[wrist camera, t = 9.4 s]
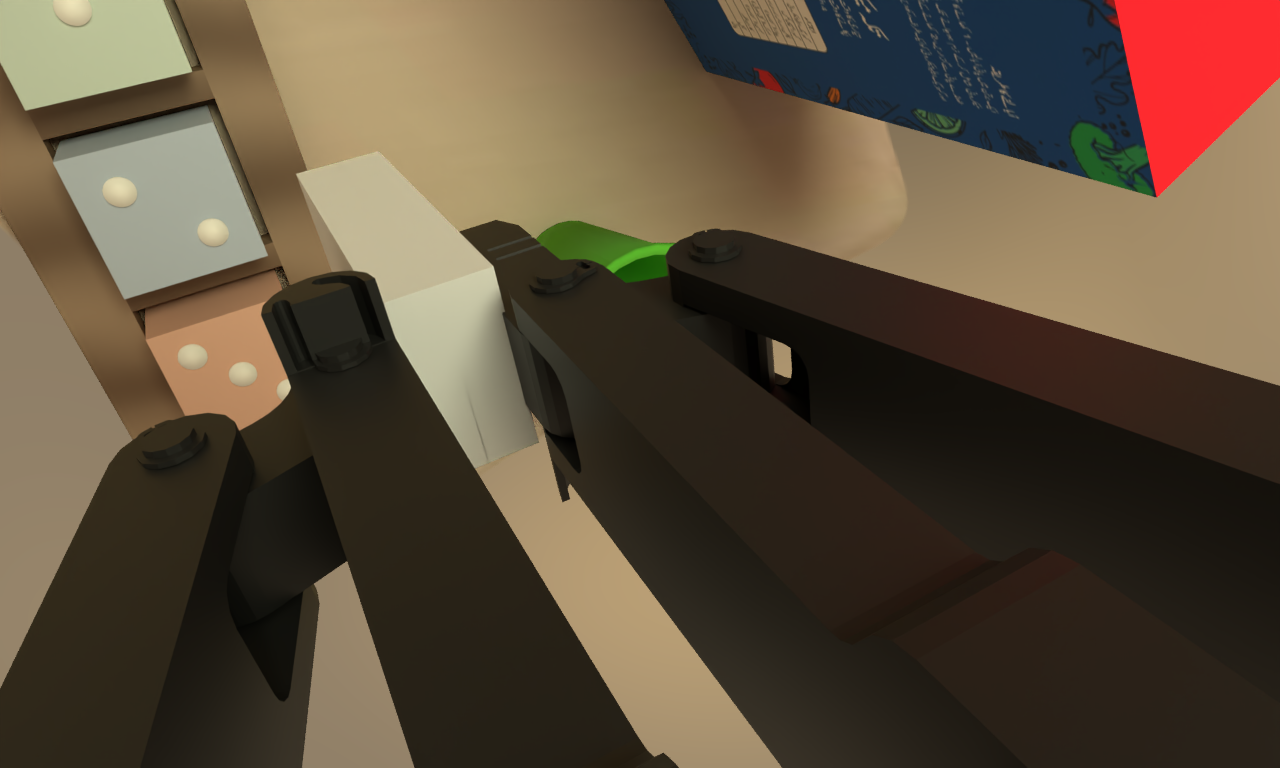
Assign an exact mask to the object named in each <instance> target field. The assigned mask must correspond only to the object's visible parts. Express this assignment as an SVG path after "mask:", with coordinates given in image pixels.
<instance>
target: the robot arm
mask: <svg viewBox="0 0 1280 768" xmlns="http://www.w3.org/2000/svg"><path fill="white" fill-rule="evenodd" d="M296 175H297V178H298V181H299V184H300V186H301V189H302V192H303V194H304V197H305V200H306V203H307V205H308V208H309V211H310V213H311V216H312V219H313V222H314V224H315V227H316V230H317V232H318V235H319V238H320V240H321V243H322V246H323V249H324V251H325V254H326V257H327V259H328V262H329V265H330V268H331V270H332V272H330V273H326V274H322V275H318V276H313V277H310V278H307V279H305V280H302V281H299V282H297V283H294V284H292V285H289V286H288V287H286V288H284V289H283V290H281V291H279V292H278V293H276V294H274V295H273V296H272V297H271V298H270V299H269V300H268V301H267V302H266V303H265V304H264V305H263V307H262V312H261V317H262V319H263V321H264V324H265V326H266V328H267V331H268V333H269V335H270V338H271V340H272V342H273V344H274V347H275V349H276V351H277V354H278V356H279V358H280V361H281V363H282V365H283V368H284V370H285V372H286V375H287V377H288V380H289V383H290V386H291V389H290V391H289V393H288V395H287V396H286V397H285V399H284V400H283V401H282V402H281V403H280V404H279V405H278V406H277V407H276V408H275V409H273V410H272V411H271V412H270V413H269V414H267V415H265V416H264V417H262V418H261V419H259V420H257V421H256V422H254V423H252V424H251V425H249V426H247V427H245V428H243V429H241V430H240V431H239V429H238V427H237V425H236V423H235V421H233V420H232V419H230V418H229V417H228V416H226V415H223V414H214V413H202V414H195V415H189V416H184V417H181V418H178V419H175V420H166V421H164V422H161V423H159V424H157V425H154V426H155V428H152V427H150V428H149V429H147V430H145V431H143V432H142V433H140V434H139V435H138V437H136V438H135V439H134V440H132V441H131V442H130V443H129V444H127V445H126V446H125V447H123V448H122V449H121V450H120V451H119V452H118V453H117V455H116V456H115V457H114V459H113V460H112V461H111V463H110V464H109V465H108V468H107V470H106V472H105V474H104V476H103V478H102V480H101V482H100V484H99V486H98V488H97V490H96V492H95V494H94V496H93V498H92V501H91V503H90V505H89V507H88V509H87V511H86V513H85V515H84V517H83V519H82V521H81V523H80V525H79V528H78V529H77V532H76V534H75V536H74V538H73V540H72V542H71V544H70V546H69V548H68V550H67V552H66V554H65V556H64V558H63V560H62V562H61V564H60V567H59V569H58V571H57V573H56V575H55V577H54V579H53V581H52V583H51V585H50V587H49V589H48V591H47V593H46V595H45V597H44V600H43V602H42V604H41V606H40V608H39V610H38V612H37V614H36V616H35V618H34V620H33V623H32V624H31V626H30V629H29V630H28V633H27V635H26V637H25V639H24V641H23V643H22V645H21V647H20V649H19V651H18V653H17V655H16V657H15V659H14V661H13V663H12V666H11V668H10V670H9V672H8V674H7V676H6V678H5V680H4V682H3V684H2V686H1V688H0V768H302V761H303V752H304V743H305V742H304V741H305V733H306V724H307V714H308V705H309V696H310V687H311V677H312V668H313V658H314V649H315V640H316V631H317V621H318V611H319V599H318V594H317V590H316V588H315V586H314V583H315V582H317V581H318V580H320V579H321V578H323V577H324V576H326V575H327V574H328V573H330V572H332V571H333V570H334V569H336V568H337V567H339V566H340V565H342V564H343V563H345V562H346V561H347V562H348V565H349V568H350V571H351V574H352V577H353V580H354V583H355V586H356V589H357V592H358V595H359V598H360V601H361V604H362V608H363V611H364V614H365V617H366V620H367V623H368V626H369V629H370V632H371V635H372V638H373V641H374V644H375V648H376V651H377V654H378V657H379V659H380V663H381V666H382V669H383V672H384V675H385V678H386V681H387V684H388V687H389V691H390V694H391V697H392V700H393V703H394V706H395V709H396V712H397V715H398V718H399V721H400V724H401V727H402V730H403V734H404V736H405V740H406V743H407V746H408V749H409V752H410V755H411V758H412V761H413V764H414V767H415V768H678V766H677V765H676V764H675V763H674V762H673V761H672V760H671V759H670V758H669V757H668V756H667V755H665V754H664V753H662V754H660V755H658V756H655V757H654V756H652V754H651V753H649V752H648V751H647V749H646V748H645V747H644V745H643V744H642V742H641V740H640V739H639V737H638V736H637V734H636V733H635V731H634V730H633V728H632V726H631V724H630V723H629V721H628V720H627V718H626V716H625V715H624V713H623V711H622V710H621V708H620V706H619V705H618V703H617V701H616V700H615V698H614V696H613V695H612V694H611V692H610V690H609V688H608V687H607V685H606V683H605V682H604V680H603V679H602V677H601V675H600V673H599V672H598V670H597V669H596V667H595V665H594V664H593V662H592V660H591V659H590V657H589V655H588V654H587V652H586V650H585V649H584V647H583V646H582V644H581V642H580V641H579V639H578V637H577V636H576V634H575V632H574V631H573V629H572V627H571V626H570V624H569V623H568V621H567V619H566V618H565V616H564V614H563V613H562V611H561V609H560V608H559V606H558V604H557V603H556V601H555V600H554V598H553V596H552V595H551V593H550V591H549V590H548V588H547V586H546V585H545V583H544V581H543V580H542V578H541V577H540V575H539V573H538V572H537V570H536V569H535V567H534V565H533V563H532V562H531V560H530V558H529V557H528V555H527V554H526V552H525V550H524V549H523V547H522V545H521V544H520V542H519V540H518V539H517V537H516V535H515V534H514V532H513V531H512V529H511V527H510V526H509V524H508V522H507V521H506V519H505V517H504V516H503V514H502V512H501V511H500V509H499V508H498V506H497V504H496V503H495V501H494V499H493V498H492V496H491V494H490V493H489V491H488V490H487V488H486V486H485V485H484V483H483V481H482V480H481V478H480V476H479V475H478V473H477V471H476V470H475V468H478V467H480V466H483V465H485V464H488V463H490V462H492V461H495V460H497V459H500V458H502V457H505V456H507V455H510V454H512V453H514V452H517V451H519V450H522V449H524V448H527V447H529V446H532V445H534V444H536V443H538V442H539V441H538V438H537V434H536V430H535V426H534V422H533V418H532V414H531V412H532V413H533V414H534V415H535V417H536V418H537V419H538V420H539V422H540V423H541V424H542V426H543V429H544V433H545V437H546V441H547V445H548V449H549V453H550V457H551V461H552V465H553V469H554V473H555V477H556V481H557V485H558V488H559V492H560V496H561V499H562V502H564V501H567V500H569V499H570V497H569V493H568V489H567V488H568V486H569V484H571V485H572V487H573V488H574V489H575V491H576V492H577V493H578V495H579V496H580V497H581V499H582V500H583V501H584V503H585V504H586V505H587V507H588V508H589V509H590V511H591V512H592V513H593V515H594V516H595V517H596V519H597V520H598V521H599V523H600V524H601V525H602V527H603V528H604V529H605V531H606V532H607V534H608V535H609V536H610V537H611V539H612V540H613V542H614V543H615V544H616V546H617V547H618V548H619V550H620V551H621V552H622V554H623V555H624V556H625V558H626V559H627V560H628V562H629V563H630V564H631V565H632V567H633V568H634V570H635V571H636V572H637V574H638V575H639V576H640V578H641V579H642V580H643V582H644V583H645V584H646V586H647V587H648V588H649V590H650V591H651V592H652V594H653V595H654V596H655V598H656V599H657V600H658V602H659V603H660V604H661V606H662V607H663V609H664V610H665V611H666V613H667V614H668V615H669V616H670V618H671V619H672V621H673V622H674V623H675V625H676V626H677V627H678V629H679V630H680V631H681V633H682V634H683V635H684V637H685V638H686V639H687V641H688V642H689V643H690V645H691V646H692V647H693V649H694V650H695V651H696V653H697V654H698V655H699V657H700V658H701V659H702V661H703V662H704V663H705V665H706V666H707V667H708V669H709V670H710V671H711V673H712V674H713V675H714V677H715V678H716V679H717V681H718V682H719V684H720V685H721V686H722V688H723V689H724V690H725V691H726V693H727V694H728V696H729V697H730V698H731V700H732V701H733V702H734V704H735V705H736V706H737V708H738V709H739V710H740V712H741V713H742V714H743V716H744V717H745V718H746V720H747V721H748V722H749V724H750V725H751V726H752V728H753V729H754V730H755V732H756V733H757V734H758V736H759V737H760V738H761V740H762V741H763V742H764V744H765V745H766V746H767V748H768V749H769V750H770V752H771V753H772V754H773V756H774V757H775V759H776V760H777V761H778V763H779V764H780V765H781V767H782V768H1280V386H1278V385H1275V384H1271V383H1268V382H1264V381H1261V380H1257V379H1254V378H1251V377H1247V376H1244V375H1240V374H1237V373H1233V372H1230V371H1227V370H1223V369H1220V368H1216V367H1213V366H1209V365H1206V364H1202V363H1199V362H1195V361H1192V360H1188V359H1185V358H1182V357H1178V356H1174V355H1171V354H1168V353H1164V352H1161V351H1157V350H1153V349H1150V348H1147V347H1143V346H1140V345H1137V344H1133V343H1130V342H1126V341H1123V340H1119V339H1116V338H1112V337H1109V336H1105V335H1102V334H1098V333H1095V332H1092V331H1088V330H1085V329H1081V328H1078V327H1074V326H1071V325H1067V324H1064V323H1060V322H1057V321H1053V320H1050V319H1047V318H1043V317H1039V316H1036V315H1033V314H1029V313H1026V312H1022V311H1019V310H1015V309H1012V308H1008V307H1005V306H1002V305H998V304H995V303H991V302H988V301H984V300H981V299H977V298H974V297H970V296H967V295H963V294H960V293H957V292H953V291H950V290H946V289H943V288H939V287H935V286H932V285H929V284H925V283H922V282H918V281H915V280H912V279H908V278H904V277H901V276H898V275H894V274H891V273H887V272H884V271H880V270H877V269H873V268H870V267H866V266H863V265H860V264H856V263H853V262H849V261H846V260H842V259H839V258H835V257H832V256H829V255H825V254H822V253H818V252H815V251H811V250H808V249H804V248H801V247H797V246H794V245H790V244H787V243H784V242H780V241H777V240H773V239H770V238H766V237H763V236H759V235H756V234H752V233H748V232H742V231H736V230H720V229H710V230H707V232H705V231H700V232H696V233H694V234H693V235H692V236H690V237H687V238H684V239H682V240H680V241H678V242H677V243H675V244H674V245H673V246H671V247H670V248H669V250H668V252H667V253H666V255H665V258H666V265H667V272H668V276H664V277H659V278H653V279H648V280H642V281H636V282H629V283H626V282H624V281H623V280H622V279H620V278H619V277H618V276H616V275H615V274H614V273H613V272H611V271H610V270H609V269H607V268H606V267H605V266H603V265H601V264H599V263H597V262H594V261H592V260H587V259H569V260H560V259H559V258H557V257H556V256H555V255H554V254H553V253H551V252H550V251H549V250H548V249H547V248H545V247H544V246H541V243H539V242H538V241H537V240H536V239H535V238H532V237H531V235H530V234H528V233H527V232H526V231H525V230H524V229H522V228H521V227H520V226H519V225H515V224H511V223H506V222H502V221H498V220H495V221H492V222H488V223H485V224H482V225H479V226H476V227H473V228H469V229H466V230H463V231H460V232H459V231H458V230H457V229H456V228H455V227H454V226H453V225H452V224H451V223H450V222H449V221H448V220H447V219H446V218H445V217H444V216H443V215H442V214H441V213H440V212H439V211H438V210H437V209H436V208H435V207H434V206H433V205H432V204H431V203H430V202H429V201H428V200H427V199H426V198H425V197H424V196H423V195H422V194H421V193H420V192H419V191H418V190H417V189H416V188H415V187H414V186H413V185H412V184H411V183H410V182H409V181H408V180H407V179H406V178H405V177H404V176H403V175H402V174H401V173H400V172H399V171H398V170H397V169H396V168H395V167H394V166H393V165H392V164H391V163H390V162H389V161H388V160H387V159H386V158H385V157H384V156H383V155H382V154H381V153H380V152H379V151H377V152H373V153H370V154H366V155H362V156H359V157H355V158H351V159H348V160H344V161H341V162H337V163H333V164H330V165H326V166H322V167H319V168H315V169H312V170H308V171H304V172H301V173H297V174H296ZM772 339H773V340H776V341H778V342H781V343H783V344H785V345H787V346H788V347H790V348H791V361H792V375H791V378H787V377H783V376H781V375H779V374H777V373H774V359H773V346H772Z"/></svg>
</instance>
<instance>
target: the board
mask: <svg viewBox="0 0 1280 768" xmlns="http://www.w3.org/2000/svg"><path fill="white" fill-rule="evenodd" d="M175 1H176V4H177V6H178V9H179V11H180V14H181V16H182V19H183V21H184V24H185V26H186V29H187V31H188V34H189V36H190V39H191V41H192V44H193V46H194V49H195V51H196V53H197V56H198V58H199V61H200V63H201V65H199V66H194V67H191V69H192V72H190V73H185V74H181V75H177V76H172V77H168V78H164V79H160V80H155V81H151V82H147V83H142V84H138V85H134V86H129V87H125V88H121V89H116V90H112V91H108V92H104V93H99V94H95V95H91V96H86V97H82V98H78V99H73V100H69V101H65V102H61V103H56V104H52V105H48V106H43V107H39V108H35V109H30V110H26V111H25V109H24V107H23V105H22V103H21V101H20V99H19V97H18V95H17V94H16V92H15V90H14V88H13V86H12V84H11V82H10V80H9V78H8V76H7V74H6V73H5V71H4V69H3V67H2V65H1V63H0V209H1V211H2V213H3V215H4V216H5V218H6V220H7V222H8V223H9V225H10V227H11V228H12V230H13V232H14V234H15V235H16V237H17V239H18V241H19V242H20V244H21V246H22V248H23V249H24V251H25V253H26V255H27V256H28V258H29V260H30V261H31V263H32V265H33V267H34V268H35V270H36V272H37V274H38V275H39V277H40V279H41V281H42V282H43V284H44V286H45V288H46V289H47V291H48V293H49V295H50V296H51V298H52V300H53V302H54V303H55V305H56V307H57V309H58V310H59V312H60V314H61V315H62V317H63V319H64V321H65V322H66V324H67V326H68V328H69V329H70V331H71V333H72V335H73V336H74V338H75V340H76V342H77V343H78V345H79V347H80V349H81V350H82V352H83V354H84V356H85V357H86V359H87V361H88V362H89V364H90V366H91V368H92V370H93V371H94V373H95V375H96V376H97V378H98V380H99V382H100V383H101V385H102V387H103V389H104V390H105V392H106V394H107V396H108V397H109V399H110V401H111V403H112V404H113V406H114V408H115V410H116V411H117V413H118V415H119V417H120V418H121V420H122V422H123V424H124V425H125V427H126V429H127V430H128V432H129V434H130V436H131V437H132V439H133V440H134V439H135V438H136V437H138V435H139V434H140V433H142V432H143V431H145V430H147V429H149V428H150V427H152V428H155V426H154V425H157V424H159V423H161V422H164V421H166V420H175V419H178V418H181V417H184V416H185V414H184V412H183V410H182V409H181V407H180V405H179V403H178V401H177V399H176V397H175V395H174V393H173V391H172V389H171V388H170V386H169V384H168V382H167V380H166V378H165V376H164V374H163V372H162V370H161V368H160V367H159V365H158V363H157V361H156V359H155V357H154V355H153V353H152V351H151V349H150V347H149V346H148V344H147V342H146V330H145V324H144V322H143V320H142V318H141V316H140V314H139V312H138V310H140V309H143V308H146V307H150V306H153V305H156V304H159V303H163V302H166V301H169V300H172V299H175V298H179V297H182V296H185V295H188V294H192V293H195V292H198V291H201V290H205V289H208V288H211V287H214V286H217V285H221V284H224V283H227V282H230V281H234V280H237V279H240V278H243V277H247V276H250V275H253V274H256V273H259V272H263V271H266V270H269V269H272V268H276V267H279V266H283V269H284V271H285V274H286V276H287V279H288V281H289V284H290V285H292V284H294V283H297V282H299V281H302V280H305V279H307V278H310V277H313V276H318V275H322V274H326V273H330V272H332V270H331V268H330V265H329V262H328V259H327V257H326V254H325V251H324V249H323V246H322V243H321V240H320V238H319V235H318V232H317V230H316V227H315V224H314V222H313V219H312V216H311V213H310V211H309V208H308V205H307V203H306V200H305V197H304V194H303V192H302V189H301V186H300V184H299V181H298V178H297V175H296V174H297V173H301V172H304V171H307V169H306V166H305V164H304V161H303V158H302V155H301V153H300V150H299V147H298V144H297V142H296V139H295V136H294V133H293V131H292V128H291V125H290V122H289V120H288V117H287V114H286V111H285V109H284V106H283V103H282V100H281V97H280V95H279V92H278V89H277V86H276V84H275V81H274V78H273V75H272V73H271V70H270V67H269V64H268V62H267V59H266V56H265V53H264V51H263V48H262V45H261V42H260V40H259V37H258V34H257V31H256V29H255V26H254V23H253V20H252V18H251V15H250V12H249V9H248V7H247V4H246V1H245V0H175ZM213 98H215V100H216V103H217V105H218V108H219V110H220V113H221V115H222V118H223V120H224V123H225V125H226V128H227V130H228V133H229V135H230V138H231V140H232V143H233V145H234V148H235V150H236V152H237V155H238V157H239V160H240V162H241V165H242V167H243V170H244V172H245V175H246V177H247V180H248V182H249V185H250V187H251V190H252V192H253V195H254V197H255V199H256V202H257V204H258V207H259V209H260V212H261V214H262V217H263V219H264V222H265V224H266V227H267V229H268V232H269V234H266V235H262V236H261V238H262V241H263V244H264V246H265V249H266V252H267V254H268V256H266V257H262V258H259V259H256V260H252V261H249V262H246V263H243V264H239V265H236V266H233V267H230V268H226V269H223V270H220V271H216V272H213V273H210V274H207V275H203V276H200V277H197V278H193V279H190V280H187V281H184V282H180V283H177V284H174V285H170V286H167V287H164V288H161V289H157V290H154V291H151V292H147V293H144V294H141V295H138V296H134V297H131V298H128V299H124V298H123V296H122V294H121V292H120V290H119V288H118V286H117V284H116V282H115V281H114V279H113V277H112V275H111V273H110V271H109V269H108V267H107V265H106V263H105V261H104V260H103V258H102V256H101V254H100V252H99V250H98V248H97V246H96V244H95V242H94V240H93V239H92V237H91V235H90V233H89V231H88V229H87V227H86V225H85V223H84V221H83V219H82V218H81V216H80V214H79V212H78V210H77V208H76V206H75V204H74V202H73V200H72V198H71V197H70V195H69V193H68V191H67V189H66V187H65V185H64V183H63V181H62V179H61V177H60V176H59V174H58V172H57V170H56V168H55V166H54V164H53V160H54V157H55V154H56V152H55V150H54V148H53V146H52V145H51V143H50V141H49V138H53V137H57V136H61V135H66V134H70V133H74V132H78V131H82V130H86V129H90V128H94V127H98V126H102V125H107V124H111V123H115V122H119V121H123V120H127V119H131V118H135V117H139V116H144V115H148V114H152V113H156V112H160V111H164V110H168V109H172V108H176V107H181V106H185V105H189V104H193V103H197V102H201V101H205V100H209V99H213Z"/></svg>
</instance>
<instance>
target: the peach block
mask: <svg viewBox="0 0 1280 768" xmlns="http://www.w3.org/2000/svg"><path fill="white" fill-rule="evenodd" d="M281 290H283V289H282V286H281V284H280V281H279V279H278V277H277V274H276V272H275V269H274V268H272V269H269V270H266V271H263V272H259V273H256V274H253V275H250V276H247V277H243V278H240V279H237V280H234V281H230V282H227V283H224V284H221V285H217V286H214V287H211V288H208V289H205V290H201V291H198V292H195V293H192V294H188V295H185V296H182V297H179V298H175V299H172V300H169V301H166V302H163V303H159V304H156V305H153V306H150V307H146V308H145V330H146V342H147V344H148V346H149V347H150V349H151V351H152V353H153V355H154V357H155V359H156V361H157V363H158V365H159V367H160V368H161V370H162V372H163V374H164V376H165V378H166V380H167V382H168V384H169V386H170V388H171V389H172V391H173V393H174V395H175V397H176V399H177V401H178V403H179V405H180V407H181V409H182V410H183V412H184V414H185V416H189V415H195V414H202V413H214V414H223V415H226V416H228V417H229V418H230V419H232V420H233V421H235V423H236V425H237V427H238V429H239V431H240V430H241V429H243V428H245V427H247V426H249V425H251V424H252V423H254V422H256V421H257V420H259V419H261V418H262V417H264V416H265V415H267V414H269V413H270V412H271V411H272V410H273V409H275V408H276V407H277V406H278V405H279V404H280V403H281V402H282V401H283V400H284V399H285V397H286V396H287V395H288V393H289V391H290V389H291V386H290V383H289V380H288V377H287V375H286V372H285V370H284V368H283V365H282V363H281V361H280V358H279V356H278V354H277V351H276V349H275V347H274V344H273V342H272V340H271V338H270V335H269V333H268V331H267V328H266V326H265V324H264V321H263V319H262V317H261V312H262V307H263V305H264V304H265V303H266V302H267V301H268V300H269V299H270V298H271V297H272V296H273V295H274V294H276V293H278V292H279V291H281Z"/></svg>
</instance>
